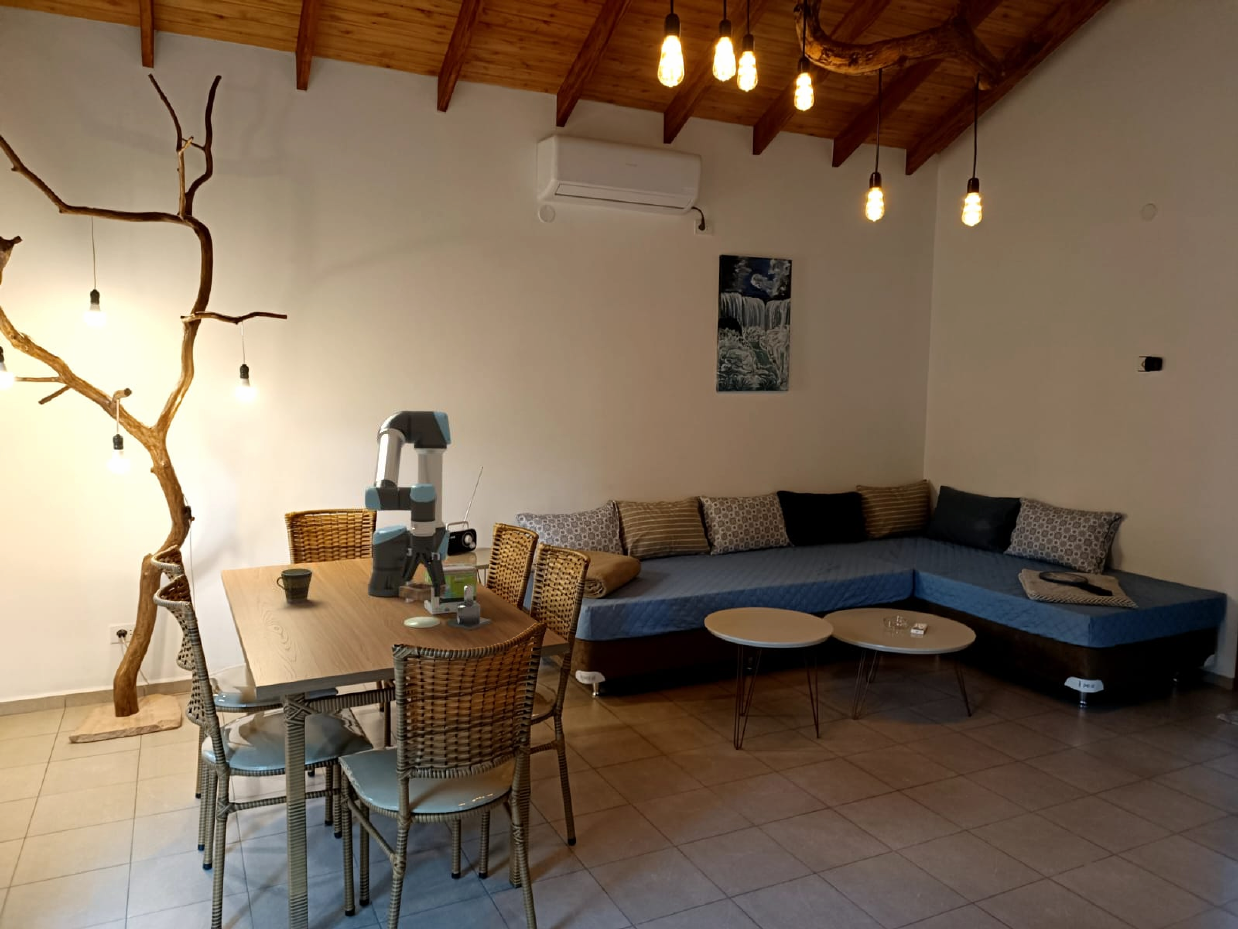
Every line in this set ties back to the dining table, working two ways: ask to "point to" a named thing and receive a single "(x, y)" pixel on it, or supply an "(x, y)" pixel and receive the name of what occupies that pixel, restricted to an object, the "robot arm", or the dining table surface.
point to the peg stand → (468, 613)
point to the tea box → (453, 587)
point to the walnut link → (419, 591)
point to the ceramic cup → (296, 584)
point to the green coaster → (422, 622)
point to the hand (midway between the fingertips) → (422, 604)
